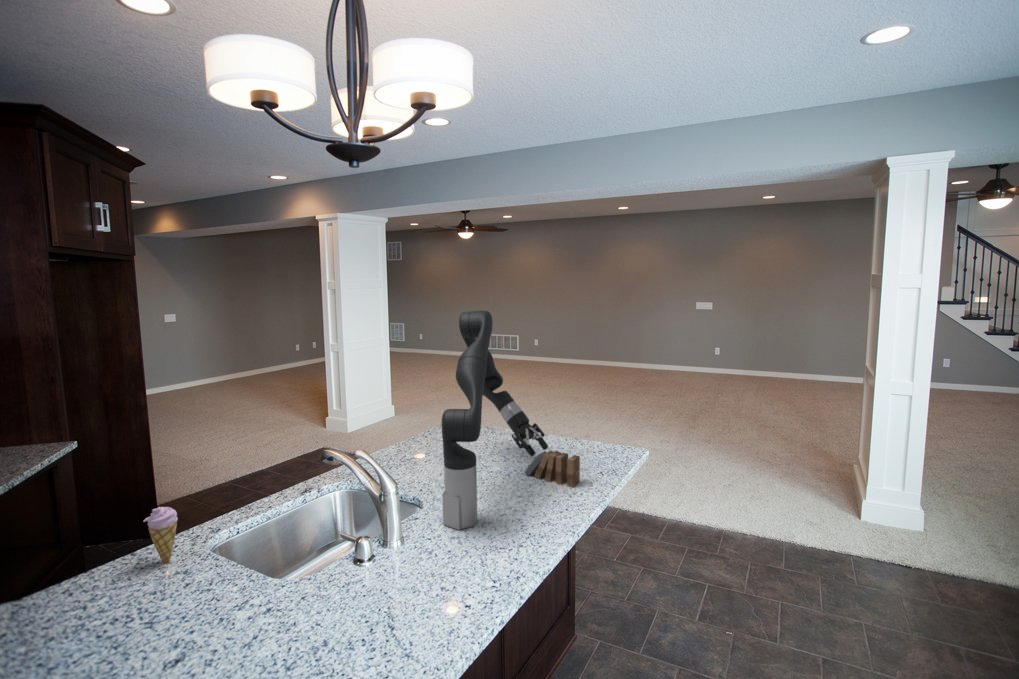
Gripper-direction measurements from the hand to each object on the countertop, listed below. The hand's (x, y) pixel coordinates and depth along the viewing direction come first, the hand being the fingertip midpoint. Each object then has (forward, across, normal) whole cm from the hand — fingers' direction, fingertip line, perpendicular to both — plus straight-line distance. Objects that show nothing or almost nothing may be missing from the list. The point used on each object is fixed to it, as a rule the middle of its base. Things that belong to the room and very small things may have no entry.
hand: (540, 451), depth 186 cm
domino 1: (+4, -4, +6) cm, 8 cm away
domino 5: (+16, -4, -6) cm, 18 cm away
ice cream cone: (-26, -105, +37) cm, 115 cm away
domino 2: (+7, -4, +3) cm, 9 cm away
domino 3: (+10, -4, 0) cm, 11 cm away
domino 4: (+13, -4, -3) cm, 14 cm away
